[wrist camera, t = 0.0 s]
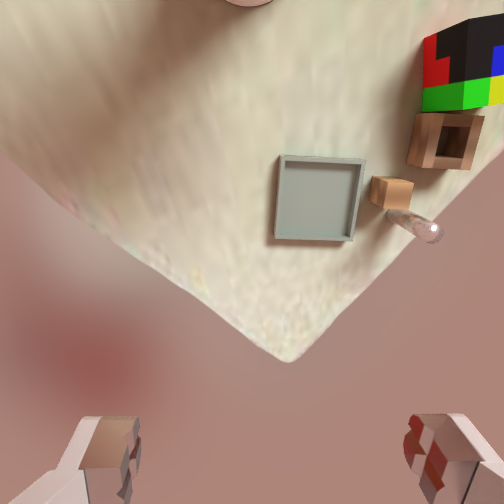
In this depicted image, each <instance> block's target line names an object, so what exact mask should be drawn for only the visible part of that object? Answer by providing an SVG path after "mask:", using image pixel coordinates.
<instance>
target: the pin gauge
mask: <svg viewBox="0 0 504 504" xmlns="http://www.w3.org/2000/svg"><path fill="white" fill-rule="evenodd" d="M387 218H388V219H389V220H391V221H392V222H394V223H396V224H397V225H399V226H401V227H402V228H404V229H406V230H407V231H409V232H411V233H412V234H414V235H416V236H417V237H419V238H421V239H422V240H424V241H426V242H427V243H430V244H434V243H437V242H438V241H439V240H441V238H442V237H443V234H444V230H443V228H442V227H441V226H440V225H438V224H436V223H434V222H432V221H430V220H428V219H426V218H424V217H421V216H419V215H417V214H415V213H413V212H411V211H409V210H407V209H388V210H387Z"/></svg>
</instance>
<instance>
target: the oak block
mask: <svg viewBox="0 0 504 504" xmlns="http://www.w3.org/2000/svg"><path fill="white" fill-rule="evenodd" d="M413 186H414V183H412V182H409V181H406V180H403V179H400V178H397V177H380V176H372V181H371V187H370V193H369V199H368V200H369V201H371V202H372V203H374V204H376V205H378V206H380V207H381V208H384V209H409V205H410V200H411V196H412V191H413Z"/></svg>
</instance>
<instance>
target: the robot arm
mask: <svg viewBox="0 0 504 504" xmlns="http://www.w3.org/2000/svg"><path fill="white" fill-rule="evenodd" d="M226 1H228V2H230V3H233V4H236V5H240V6H258V5H262V4H265V3H267V2H269V1H271V0H226ZM408 424H409V426H410V428H411V430H410V431H409V432H408V433H407V434H406V435H405V437H404V442H403V448H404V454H405V458H406V461H407V463H408V465H409V467H410V469H411V470H412V471H413V472H414V473H415V474H417V475H418V476H419V477H420V480H419V486H420V488H421V490H422V492H423V494H424V496H425V497H426V499H427V501H428V503H429V504H504V461H502V460H501V459H500V457H499V456H498V455H497V454H496V453H495V451H494V450H493V449H492V448H491V446H490V445H489V444H488V443H487V441H486V440H485V439H484V438H483V437H482V435H481V434H480V433H479V432H478V430H477V429H476V428H475V427H474V426H473V424H472V423H471V422H470V421H469V419H468V418H467V417H466V416H464V415H463V414H461V413H459V414H413V415H412V416H411V417H410V420H409V423H408ZM139 429H140V421H139V418H138V417H117V416H102V417H98V416H84V417H83V418H82V419H81V421H80V422H79V423H78V425H77V427H76V429H75V432H74V433H73V435H72V437H71V439H70V441H69V444H68V445H67V447H66V449H65V451H64V453H63V455H62V457H61V459H60V461H59V463H58V465H57V467H56V469H55V470H49V471H48V472H47V473H45V474H44V475H43V476H41V477H40V478H39V479H38V480H37V481H35V482H34V483H33V484H31V486H29V487H28V488H27V489H25V490H24V491H23V492H22V493H20V494H19V495H18V496H17V497H16V498H14V499H13V500H12V501H11V502H9V503H8V504H129V503H130V500H131V496H132V480H133V479H134V478H135V477H136V476H137V473H138V469H139V464H140V458H141V438H140V437H139V436H138V432H139Z"/></svg>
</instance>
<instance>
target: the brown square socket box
mask: <svg viewBox="0 0 504 504" xmlns="http://www.w3.org/2000/svg"><path fill="white" fill-rule="evenodd" d="M484 117H485V116H476V115H460V114H445V113H422V114H416V117H415V122H414V127H413V132H412V137H411V141H410V146H409V151H408V156H407V161H406V164H408V165H412V166H417V167H421V168H438V169H458V170H470V169H471V165H472V162H473V158H474V154H475V151H476V147H477V143H478V140H479V136H480V132H481V128H482V125H483V121H484ZM442 126H443V127H450V130H449V135H448V139H447V143H446V147H445V151H444V155H443V156H440V155H435V154H436V150H437V146H438V141H439V137H440V133H441V128H442Z"/></svg>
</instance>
